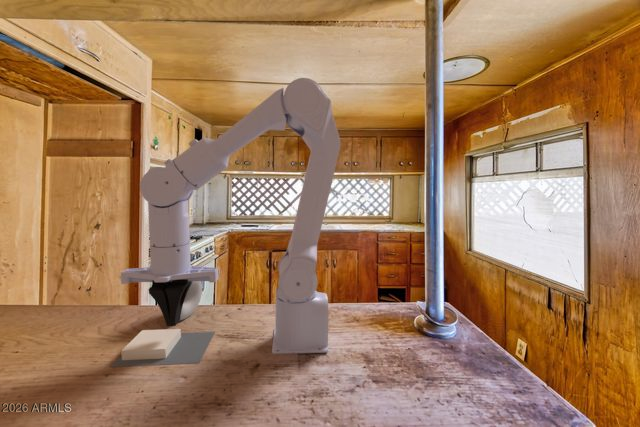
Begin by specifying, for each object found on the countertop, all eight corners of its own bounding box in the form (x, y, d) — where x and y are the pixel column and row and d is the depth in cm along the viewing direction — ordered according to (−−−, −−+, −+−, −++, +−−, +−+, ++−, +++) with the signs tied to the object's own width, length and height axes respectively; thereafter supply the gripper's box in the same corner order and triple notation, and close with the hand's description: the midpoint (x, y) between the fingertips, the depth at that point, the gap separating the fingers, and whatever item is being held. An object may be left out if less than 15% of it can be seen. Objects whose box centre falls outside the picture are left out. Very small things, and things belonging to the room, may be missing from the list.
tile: (180, 328, 49) (142, 330, 48) (165, 348, 43) (121, 350, 42) (180, 337, 49) (142, 338, 49) (165, 358, 43) (121, 360, 43)
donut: (174, 332, 52) (172, 281, 51) (158, 329, 52) (156, 279, 51) (206, 308, 62) (205, 265, 60) (192, 307, 62) (191, 264, 61)
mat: (215, 333, 51) (215, 331, 51) (199, 365, 42) (199, 362, 42) (141, 336, 50) (141, 334, 50) (109, 369, 41) (109, 366, 41)
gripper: (105, 249, 40) (111, 337, 41) (209, 249, 41) (211, 334, 43) (133, 239, 47) (137, 315, 48) (221, 239, 48) (222, 313, 50)
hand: (173, 323), depth 46 cm, fingers closed
